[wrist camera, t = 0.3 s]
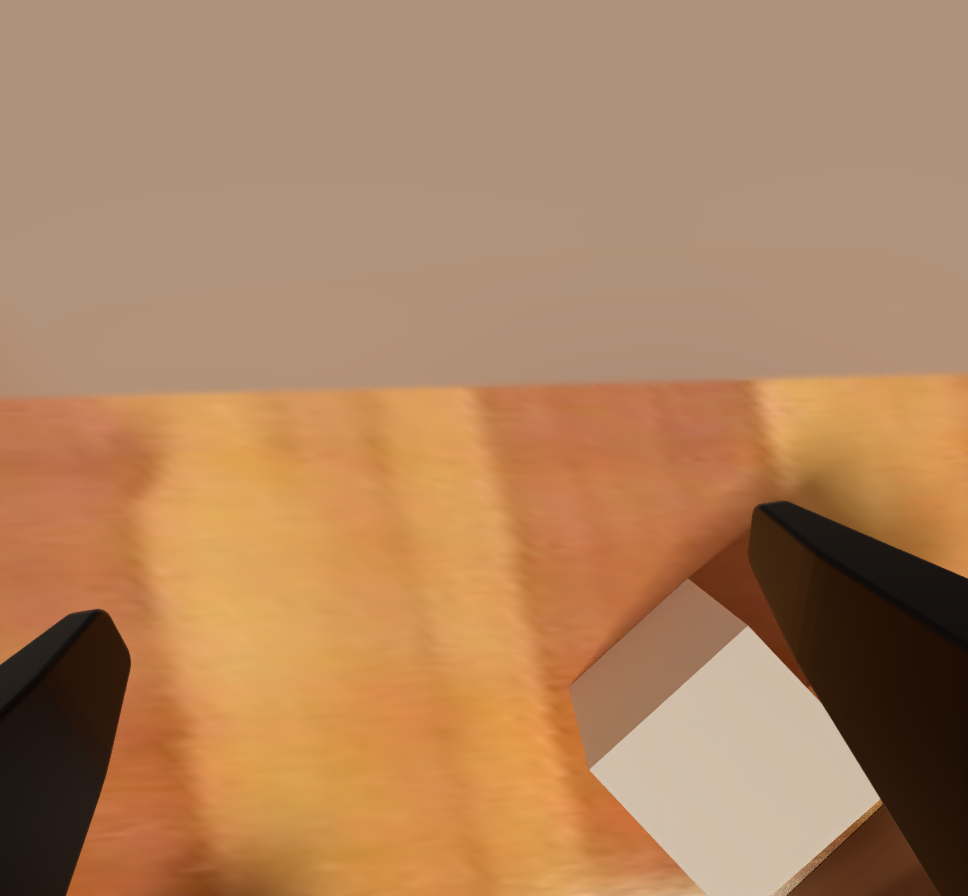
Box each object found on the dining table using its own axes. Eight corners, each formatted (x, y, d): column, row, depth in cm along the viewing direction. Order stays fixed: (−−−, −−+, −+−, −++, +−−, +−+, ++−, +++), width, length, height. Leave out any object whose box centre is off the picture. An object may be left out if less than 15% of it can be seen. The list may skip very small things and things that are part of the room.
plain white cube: (798, 695, 24) (899, 785, 18) (678, 803, 24) (737, 928, 18) (686, 576, 24) (748, 625, 18) (567, 685, 24) (588, 770, 18)
